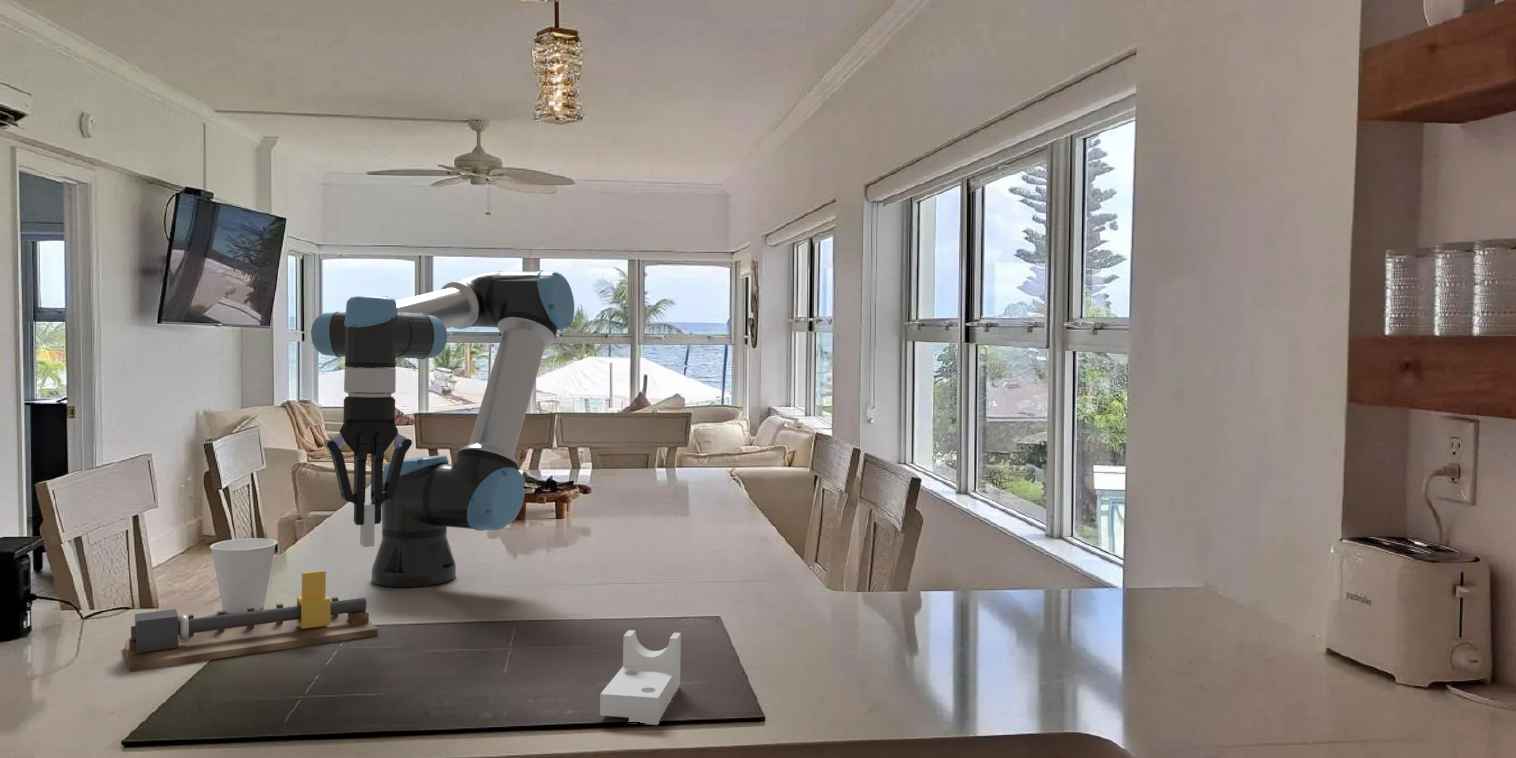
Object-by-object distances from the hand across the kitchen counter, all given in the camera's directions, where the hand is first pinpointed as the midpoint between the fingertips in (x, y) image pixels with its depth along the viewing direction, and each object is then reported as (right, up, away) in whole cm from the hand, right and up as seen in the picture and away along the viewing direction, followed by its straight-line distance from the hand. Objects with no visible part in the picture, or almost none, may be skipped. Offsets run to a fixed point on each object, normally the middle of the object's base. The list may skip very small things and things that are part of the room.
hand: (367, 544), depth 153 cm
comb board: (-13, -13, -8) cm, 20 cm away
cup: (-24, -12, +8) cm, 28 cm away
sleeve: (-7, -11, -4) cm, 14 cm away
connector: (-23, -12, -15) cm, 30 cm away
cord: (-13, -10, -9) cm, 19 cm away
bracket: (+47, -15, -30) cm, 58 cm away
